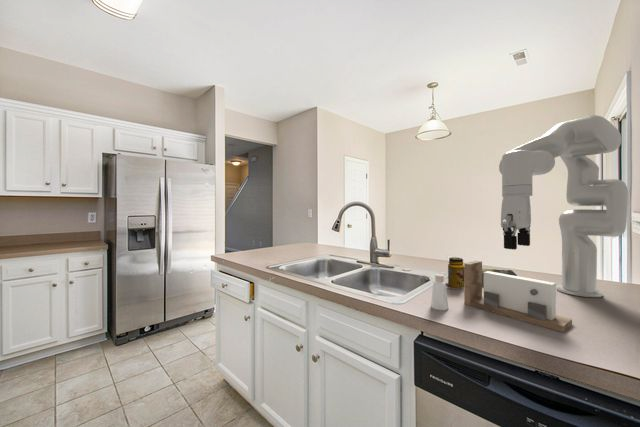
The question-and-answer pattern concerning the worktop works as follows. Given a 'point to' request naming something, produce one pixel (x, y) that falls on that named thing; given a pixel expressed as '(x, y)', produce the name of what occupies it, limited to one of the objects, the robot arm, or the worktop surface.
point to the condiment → (455, 273)
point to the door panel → (521, 292)
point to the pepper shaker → (439, 293)
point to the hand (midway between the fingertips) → (517, 247)
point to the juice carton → (497, 272)
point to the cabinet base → (492, 304)
